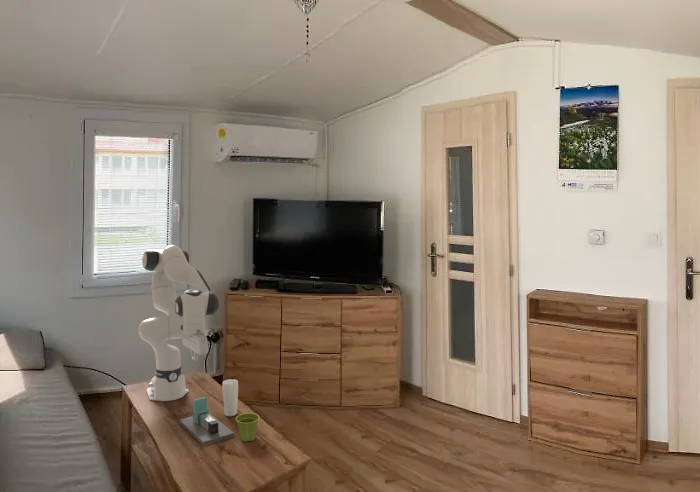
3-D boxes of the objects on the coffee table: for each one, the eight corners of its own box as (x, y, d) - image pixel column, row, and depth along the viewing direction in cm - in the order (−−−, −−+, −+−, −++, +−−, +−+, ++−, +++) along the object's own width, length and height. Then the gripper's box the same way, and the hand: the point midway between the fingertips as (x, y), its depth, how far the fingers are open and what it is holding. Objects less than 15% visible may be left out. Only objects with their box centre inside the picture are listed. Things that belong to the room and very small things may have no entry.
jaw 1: (195, 420, 230) (195, 411, 229) (199, 419, 231) (199, 410, 230) (211, 434, 217) (211, 424, 217) (215, 433, 218) (214, 423, 218)
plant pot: (264, 436, 220) (264, 415, 219) (250, 445, 211) (250, 424, 210) (245, 431, 223) (244, 411, 222) (231, 441, 215) (230, 420, 214)
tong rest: (179, 422, 231) (178, 412, 231) (208, 415, 239) (207, 405, 239) (203, 445, 211) (203, 434, 211) (234, 436, 219) (234, 425, 218)
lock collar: (193, 421, 228) (193, 399, 227) (206, 418, 232) (205, 396, 231) (196, 423, 226) (195, 401, 225) (208, 420, 229) (208, 398, 228)
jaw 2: (199, 419, 231) (199, 410, 230) (202, 419, 231) (202, 409, 231) (215, 433, 218) (214, 423, 218) (218, 432, 219) (218, 422, 218)
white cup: (234, 418, 237) (234, 384, 235) (220, 416, 238) (219, 383, 237) (241, 412, 243) (240, 379, 242) (226, 410, 245) (226, 378, 243)
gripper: (211, 332, 223) (212, 364, 224) (192, 322, 239) (193, 353, 240) (196, 334, 219) (197, 367, 220) (178, 324, 235) (179, 355, 236)
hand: (195, 360), depth 230 cm, fingers closed
